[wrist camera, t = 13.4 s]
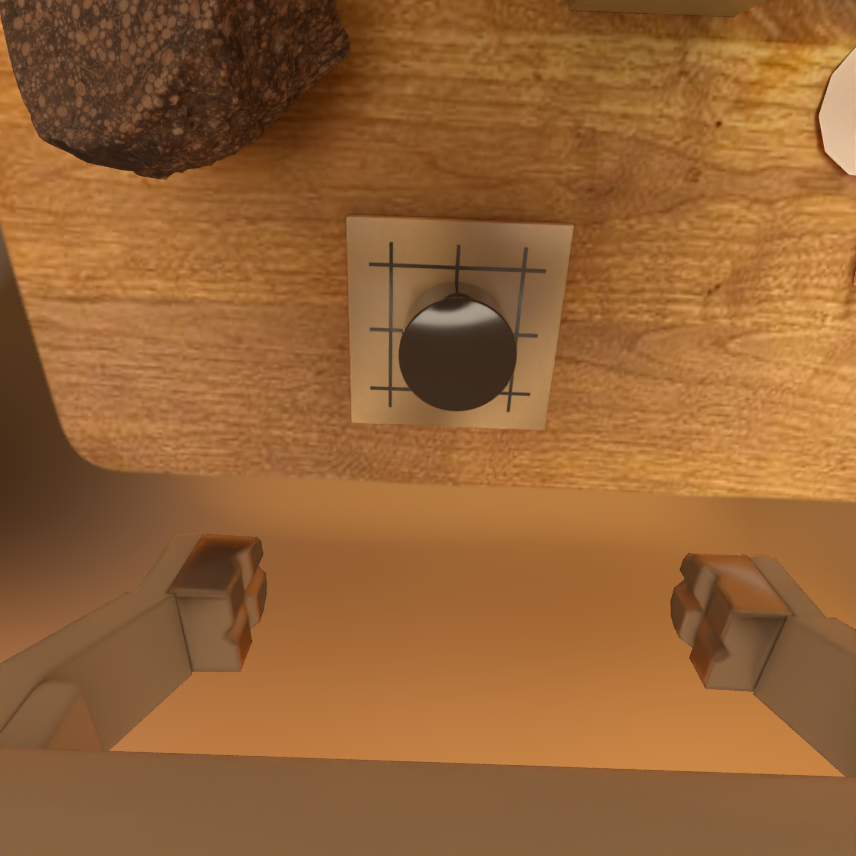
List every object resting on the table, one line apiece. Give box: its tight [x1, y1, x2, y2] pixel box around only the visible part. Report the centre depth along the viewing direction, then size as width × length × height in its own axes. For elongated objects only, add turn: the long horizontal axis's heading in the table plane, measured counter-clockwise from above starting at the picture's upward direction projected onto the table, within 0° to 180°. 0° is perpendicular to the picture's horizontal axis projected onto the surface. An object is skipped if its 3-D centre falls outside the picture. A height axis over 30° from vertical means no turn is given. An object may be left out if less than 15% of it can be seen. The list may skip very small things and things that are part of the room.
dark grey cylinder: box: [398, 282, 517, 411], centre depth 24 cm, size 5×5×3 cm
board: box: [346, 214, 574, 430], centre depth 26 cm, size 10×10×1 cm
